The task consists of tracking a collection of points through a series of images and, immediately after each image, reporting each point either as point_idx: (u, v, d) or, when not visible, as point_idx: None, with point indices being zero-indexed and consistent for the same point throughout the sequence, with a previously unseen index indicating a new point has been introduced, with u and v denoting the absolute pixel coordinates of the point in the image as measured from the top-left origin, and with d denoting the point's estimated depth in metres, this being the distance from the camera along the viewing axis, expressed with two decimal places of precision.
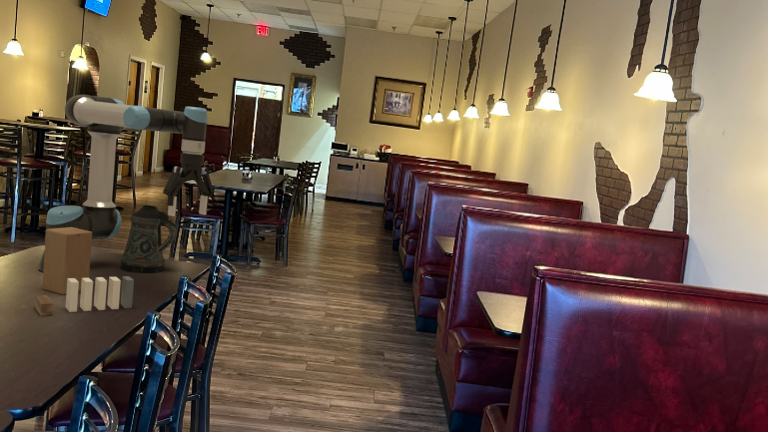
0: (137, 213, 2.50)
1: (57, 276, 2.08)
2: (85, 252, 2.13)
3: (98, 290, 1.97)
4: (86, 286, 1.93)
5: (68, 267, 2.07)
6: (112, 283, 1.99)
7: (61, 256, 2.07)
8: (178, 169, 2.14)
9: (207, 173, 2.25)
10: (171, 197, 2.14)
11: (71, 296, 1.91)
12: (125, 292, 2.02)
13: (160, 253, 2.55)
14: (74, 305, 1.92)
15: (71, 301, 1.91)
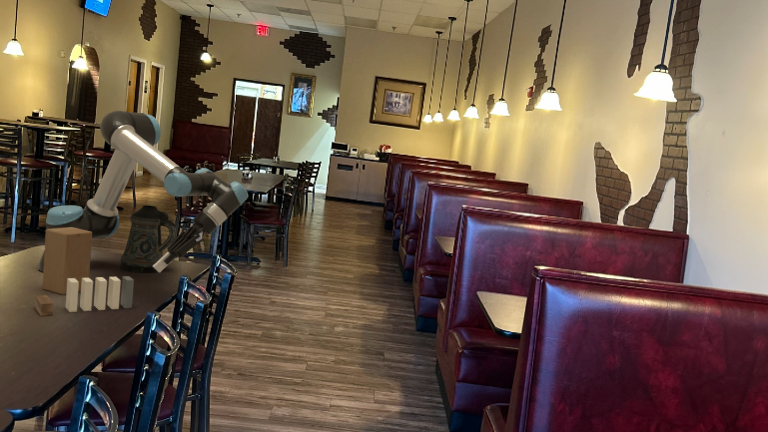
0: (137, 213, 2.50)
1: (57, 276, 2.08)
2: (85, 252, 2.13)
3: (98, 290, 1.97)
4: (86, 286, 1.93)
5: (68, 266, 2.08)
6: (112, 283, 1.99)
7: (61, 256, 2.07)
8: (183, 229, 2.17)
9: (194, 237, 2.09)
10: (167, 253, 2.11)
11: (71, 296, 1.91)
12: (125, 292, 2.02)
13: (160, 253, 2.55)
14: (74, 305, 1.92)
15: (71, 301, 1.91)
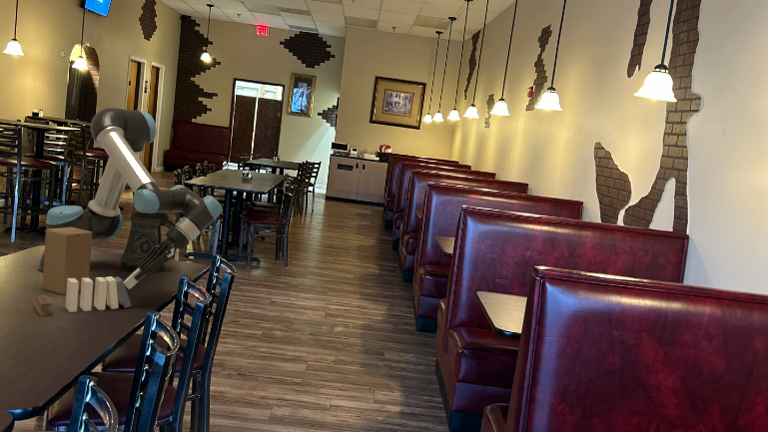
0: (137, 213, 2.50)
1: (57, 276, 2.08)
2: (85, 252, 2.13)
3: (98, 290, 1.97)
4: (86, 286, 1.93)
5: (68, 266, 2.08)
6: (108, 283, 1.98)
7: (61, 256, 2.07)
8: (155, 244, 2.12)
9: (165, 253, 2.04)
10: (138, 269, 2.06)
11: (71, 296, 1.91)
12: (119, 293, 2.01)
13: None
14: (74, 305, 1.92)
15: (71, 301, 1.91)
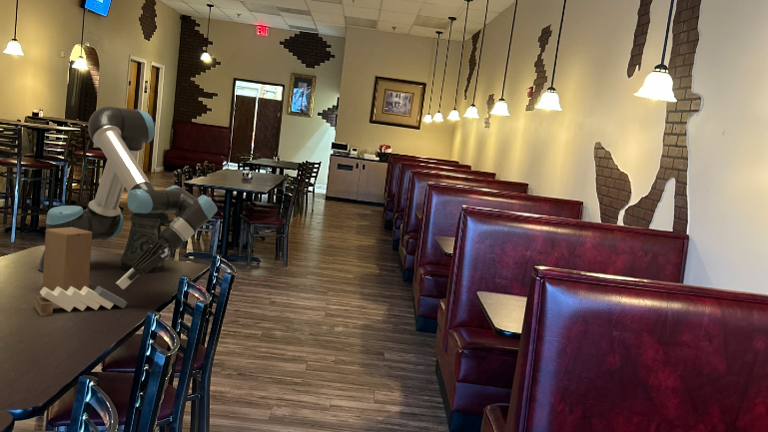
0: (137, 213, 2.50)
1: (57, 276, 2.08)
2: (85, 252, 2.13)
3: (78, 299, 1.94)
4: (61, 297, 1.90)
5: (68, 266, 2.08)
6: None
7: (61, 256, 2.07)
8: (149, 244, 2.11)
9: (159, 253, 2.03)
10: None
11: (56, 303, 1.89)
12: (109, 300, 1.99)
13: None
14: (67, 305, 1.91)
15: (61, 305, 1.90)
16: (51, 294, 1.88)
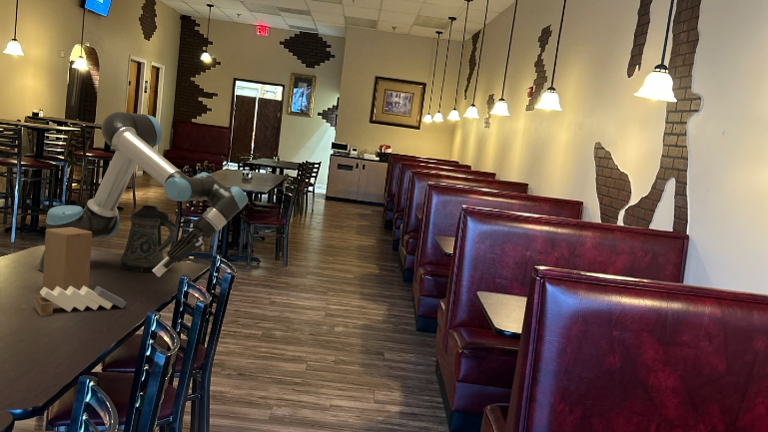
0: (137, 213, 2.50)
1: (57, 276, 2.08)
2: (85, 252, 2.13)
3: (77, 299, 1.93)
4: (61, 297, 1.89)
5: (68, 266, 2.08)
6: None
7: (61, 256, 2.07)
8: (183, 234, 2.18)
9: (193, 241, 2.09)
10: None
11: (56, 303, 1.89)
12: (108, 300, 1.99)
13: (160, 253, 2.55)
14: (67, 305, 1.91)
15: (61, 305, 1.90)
16: (51, 294, 1.88)
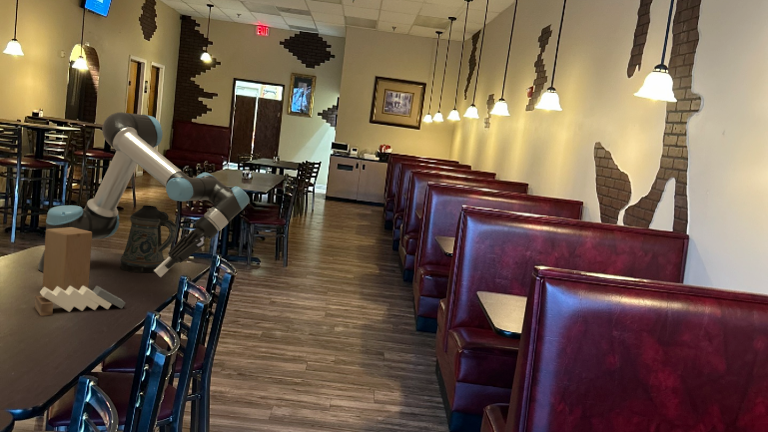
0: (137, 213, 2.50)
1: (57, 276, 2.08)
2: (85, 252, 2.13)
3: (77, 299, 1.93)
4: (61, 297, 1.89)
5: (68, 266, 2.08)
6: (84, 295, 1.94)
7: (61, 256, 2.07)
8: (184, 234, 2.18)
9: (195, 241, 2.09)
10: None
11: (56, 303, 1.89)
12: (107, 300, 1.99)
13: (160, 253, 2.55)
14: (67, 305, 1.91)
15: (61, 305, 1.90)
16: (51, 294, 1.88)
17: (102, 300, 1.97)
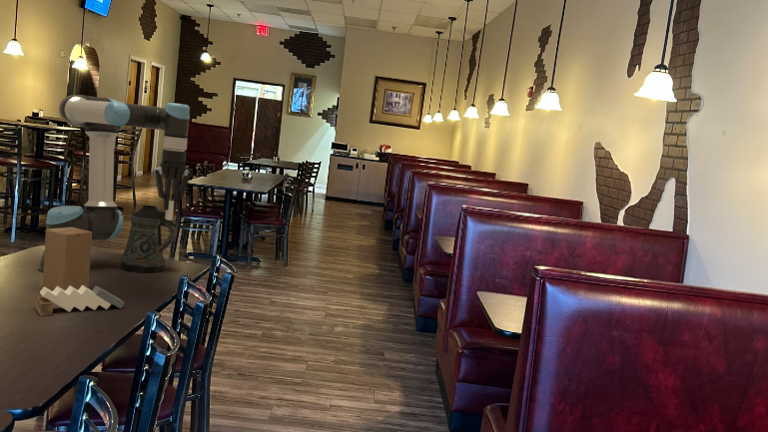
0: (137, 213, 2.50)
1: (57, 276, 2.08)
2: (85, 252, 2.13)
3: (77, 299, 1.93)
4: (61, 297, 1.89)
5: (68, 266, 2.08)
6: (84, 295, 1.94)
7: (61, 256, 2.07)
8: None
9: None
10: None
11: (56, 303, 1.89)
12: (106, 300, 1.98)
13: (160, 253, 2.55)
14: (67, 305, 1.91)
15: (61, 305, 1.90)
16: (51, 294, 1.88)
17: (101, 300, 1.97)
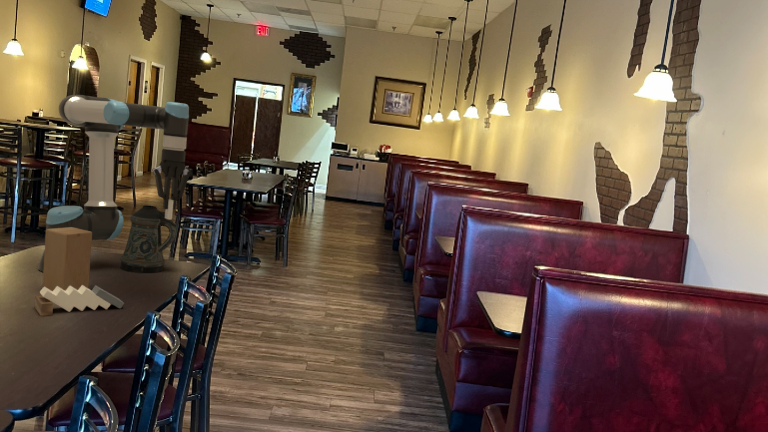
0: (137, 213, 2.50)
1: (57, 276, 2.08)
2: (85, 252, 2.13)
3: (77, 299, 1.93)
4: (61, 297, 1.89)
5: (68, 266, 2.08)
6: (84, 295, 1.94)
7: (61, 256, 2.07)
8: None
9: None
10: None
11: (56, 303, 1.89)
12: (106, 300, 1.98)
13: (160, 253, 2.55)
14: (67, 305, 1.91)
15: (61, 305, 1.90)
16: (51, 294, 1.88)
17: (101, 300, 1.97)
